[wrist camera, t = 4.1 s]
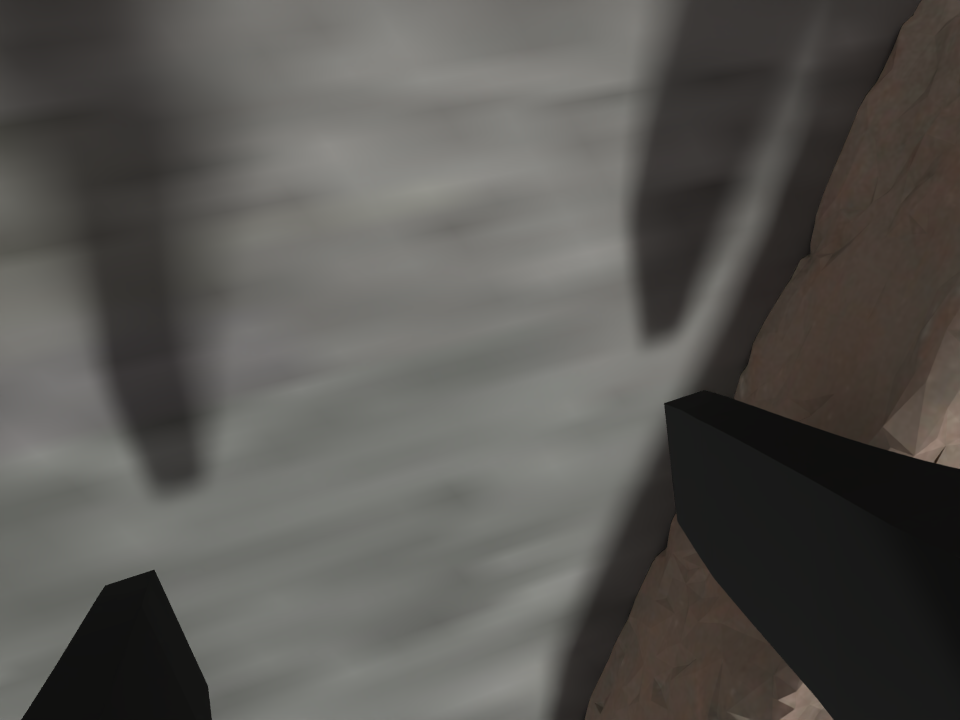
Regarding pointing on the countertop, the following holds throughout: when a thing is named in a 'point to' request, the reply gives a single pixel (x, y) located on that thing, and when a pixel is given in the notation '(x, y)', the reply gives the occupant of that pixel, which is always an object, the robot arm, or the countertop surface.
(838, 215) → the brick
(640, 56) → the countertop surface
